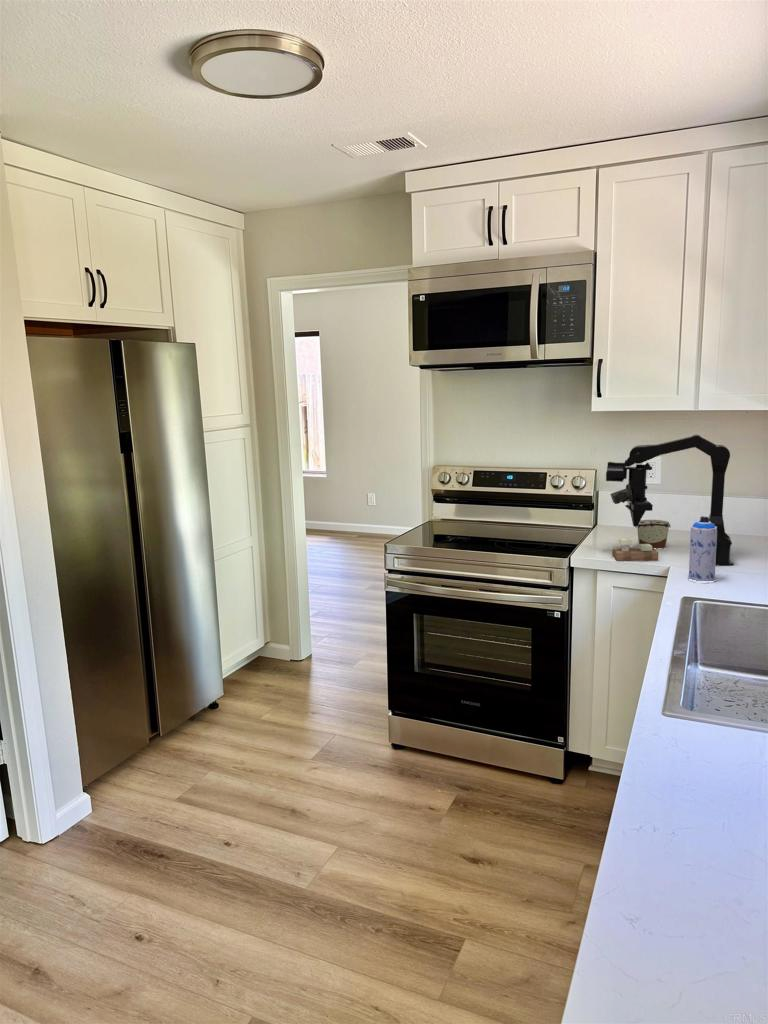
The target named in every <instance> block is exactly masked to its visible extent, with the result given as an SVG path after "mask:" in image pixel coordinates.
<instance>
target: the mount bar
mask: <svg viewBox="0 0 768 1024" xmlns="http://www.w3.org/2000/svg"><path fill="white" fill-rule="evenodd" d="M611 552H612V553H611V556H613V557H614V558H615V559H614V558H613V557H612V558H613V559H614V560H615V561H616V562H649V561H650V562H651V561H652V562H654V561H655V562H656V561H657V562H658V561H659V553H660V552H659V551H657V549H654V548H652V551H641V550H640V549H639V547H629V551H621V547H613V548H612V550H611Z"/></svg>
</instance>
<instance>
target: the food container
mask: <svg viewBox="0 0 768 1024" xmlns="http://www.w3.org/2000/svg"><path fill="white" fill-rule="evenodd" d="M635 528H636V529H637V536H638V540H637V541H638V545H639V544H650V545H651V546H652V548H656V549H655V550H659V549H658V548H662V549H661V550H665V549H664V548H666V549H667V541H668V535H669V528H670V529H671V523H670V521H667V520H662V519H661V520H660V519H641V520H640V522H639V524H638V525H637V527H635Z"/></svg>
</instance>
